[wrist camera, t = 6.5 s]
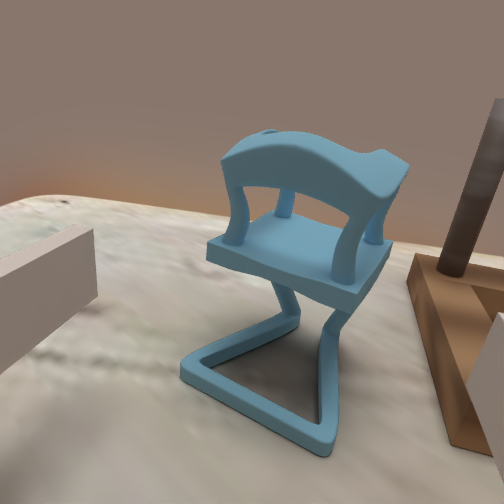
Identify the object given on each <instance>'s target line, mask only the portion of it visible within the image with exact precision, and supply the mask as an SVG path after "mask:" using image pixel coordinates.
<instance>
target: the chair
mask: <svg viewBox="0 0 504 504" xmlns="http://www.w3.org/2000/svg"><path fill="white" fill-rule="evenodd" d="M221 165H222V170H223V173H224V178H225V183H226V188H227V192H228V196H229V200H230V205H231V218H230V222H229V226H228V228H227V230H226V233H224V234H222V235H220V236H218V237H216V238H214V239H212V240H210V241H208V242H207V255H206V260H207V261H209V262H212V263H215V264H217V265H220V266H223V267H225V268H228V269H231V270H234V271H238V272H243V273H247V274H251V275H255V276H259V277H262V278H264V279H267V280H270V281H271V283H272V285H273V288H274V290H275V293H276V295H277V298H278V300H279V303H280V305H281V308H282V312H280V313H279V314H277V315H275V316H273V317H271V318H269V319H267V320H265V321H262V322H260V323H258V324H256V325H253V326H251V327H249V328H246V329H244V330H241V331H239V332H237V333H234V334H232V335H230V336H227V337H225V338H223V339H220V340H218V341H216V342H214V343H211V344H209V345H207V346H205V347H203V348H200V349H198V350H196V351H195V352H193V353H191V354H189V355H188V356H186V357H185V358H184V359H182V361H181V363H180V375H181V378H182V380H183V381H185V382H186V383H188V384H190V385H192V386H193V387H195V388H197V389H199V390H201V391H202V392H204V393H206V394H208V395H210V396H212V397H213V398H215V399H217V400H219V401H221V402H222V403H224V404H226V405H228V406H230V407H231V408H233V409H235V410H237V411H239V412H240V413H242V414H244V415H246V416H248V417H249V418H251V419H253V420H255V421H257V422H258V423H260V424H262V425H264V426H266V427H268V428H269V429H271V430H273V431H275V432H277V433H278V434H280V435H282V436H284V437H286V438H287V439H289V440H291V441H293V442H295V443H296V444H298V445H300V446H302V447H304V448H305V449H307V450H309V451H311V452H313V453H314V454H316V455H319V456H323V457H325V456H328V455H329V454H330V453H331V452H332V449H333V446H334V443H335V439H336V435H337V430H338V422H339V383H338V342H339V335H340V330H341V328H342V327H343V326H344V324H345V323H346V322H347V320H348V319H349V318H350V317H351V315H352V314H353V313H354V311H355V310H356V309H357V307H358V306H359V305H360V303H361V302H362V301H363V299H364V298H365V296H366V295H367V294H368V292H369V291H370V289H371V288H372V286H373V285H374V283H375V281H376V280H377V278H378V276H379V274H380V272H381V270H382V268H383V267H384V264H385V262H386V261H387V259H388V258H389V255H390V251H391V248H392V244H393V241H390V240H387V239H383V224H384V220H385V216H386V214H387V212H388V210H389V208H390V206H391V204H392V202H393V200H394V199H395V197H396V195H397V193H398V190H399V187H400V185H401V183H402V181H403V180H404V178H405V177H406V175H407V173H408V171H409V168H410V166H409V164H407V163H406V162H404V161H402V160H401V159H399V158H398V157H396V156H395V155H393V154H391V153H390V152H388V151H386V150H384V149H379V150H377V151H374V152H371V153H357V152H355V151H351V150H349V149H347V148H344V147H343V146H341V145H338V144H336V143H334V142H332V141H330V140H327V139H325V138H323V137H320V136H317V135H313V134H310V133H307V132H294V131H290V132H278V131H277V130H273V129H272V130H271V129H268V130H265V131H262V132H259V133H256V134H253V135H250V136H248V137H246V138H244V139H243V140H241V141H240V142H238V143H237V144H236V145H235V146H234V147H233V148H232V149H231V150H230V151H229V152H228V153H227V154H226V155H225V156H224V157H223V158H222V159H221ZM245 186H258V187H271V188H279V189H280V194H279V199H278V203H277V206H276V209H274V210H272V211H270V212H268V213H266V214H264V215H263V216H261V217H259V218H258V219H256V220H255V221H253V222H251V223H249V222H250V216H249V215H250V214H249V207H248V203H247V200H246V196H245V194H244V191H243V189H242V187H245ZM295 192H297V193H301V194H304V195H307V196H310V197H313V198H315V199H318V200H320V201H322V202H325V203H327V204H329V205H331V206H333V207H335V208H337V209H338V210H340V211H342V212H344V213H345V214H347V215H348V216H349V217H350V219H349V221H348V222H347V224H346V226H345V227H344V229H341V228H337V227H333V226H330V225H326V224H322V223H319V222H316V221H314V220H311V219H308V218H305V217H302V216H300V215H297V214H294V213H292V210H293V205H294V199H295ZM364 230H365V233H364ZM293 290H294V291H296V292H298V293H300V294H302V295H304V296H306V297H308V298H310V299H312V300H314V301H316V302H318V303H321V304H324V305H326V306H329V307H332V308H334V309H336V310H335V311H334V312H333V313H332V315H331V316H330V317H329V319H328V320H327V321H326V323H325V324H324V326H323V330H322V334H321V340H320V346H319V361H318V394H319V425H318V424H314V423H311V422H309V421H307V420H305V419H304V418H302V417H300V416H298V415H296V414H294V413H292V412H290V411H289V410H287V409H285V408H283V407H281V406H279V405H277V404H275V403H273V402H272V401H270V400H268V399H266V398H264V397H262V396H260V395H258V394H257V393H255V392H253V391H251V390H249V389H247V388H245V387H243V386H241V385H240V384H238V383H236V382H234V381H232V380H230V379H228V378H226V377H224V376H223V375H221V374H219V373H217V372H215V371H213V370H211V369H209V368H211V367H213V366H215V365H218V364H220V363H222V362H224V361H227V360H229V359H231V358H234V357H236V356H238V355H241V354H243V353H245V352H247V351H250V350H252V349H254V348H257V347H259V346H261V345H263V344H266V343H268V342H270V341H272V340H274V339H276V338H278V337H281V336H283V335H284V334H286V333H288V332H290V331H292V330H293V329H295V328H296V327H297V326H298V325H299V322H300V315H301V309H300V307H299V304H298V301H297V299H296V296H295V293H294V291H293Z"/></svg>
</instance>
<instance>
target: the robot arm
mask: <svg viewBox="0 0 504 504" xmlns="http://www.w3.org/2000/svg"><path fill="white" fill-rule="evenodd" d="M97 296H98V292H97V278H96V263H95V249H94V234H93V228H88V227H83V226H78V225H72V226H70V227H68V228H65V229H63V230H61V231H59V232H57V233H55V234H53V235H51V236H49V237H47V238H44V239H42V240H40V241H38V242H36V243H34V244H32V245H30V246H28V247H26V248H24V249H21V250H19V251H17V252H15V253H13V254H11V255H9V256H7V257H5V258H3V259H1V260H0V374H2V373H3V372H4V371H5V370H7V369H8V368H9V367H10V366H11V365H13V364H14V363H15V362H16V361H18V360H19V359H20V358H21V357H23V356H24V355H25V354H26V353H28V352H29V351H30V350H31V349H33V348H34V347H35V346H36V345H38V344H39V343H40V342H41V341H43V340H44V339H45V338H46V337H48V336H49V335H50V334H51V333H53V332H54V331H55V330H56V329H58V328H59V327H60V326H61V325H62V324H64V323H65V322H66V321H67V320H69V319H70V318H71V317H72V316H74V315H75V314H76V313H77V312H79V311H80V310H81V309H82V308H84V307H85V306H86V305H87V304H89V303H90V302H91V301H92V300H94V299H95V298H96V297H97ZM465 385H466V387H467V390H468V393H469V395H470V398H471V400H472V403H473V405H474V408H475V411H476V413H477V416H478V418H479V421H480V424H481V426H482V429H483V431H484V434H485V436H486V439H487V442H488V444H489V447H490V449H491V452H492V455H493V457H494V460H495V462H496V465H497V467H498V470H499V473H500V475H501V478H502V480H503V483H504V313H500V312H498V313H497V315H496V318H495V320H494V322H493V324H492V326H491V329H490V331H489V333H488V335H487V338H486V340H485V342H484V344H483V346H482V349H481V351H480V353H479V355H478V358H477V360H476V362H475V364H474V366H473V369H472V371H471V373H470V375H469V378H468V380H467V382H466V384H465Z"/></svg>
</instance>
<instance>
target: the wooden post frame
mask: <svg viewBox="0 0 504 504" xmlns="http://www.w3.org/2000/svg"><path fill="white" fill-rule="evenodd" d="M503 171H504V99H498V98H496V99H495V101H494V104H493V106H492V109H491V112H490V115H489V118H488V121H487V124H486V126H485V129H484V133H483V135H482V138H481V141H480V144H479V146H478V149H477V152H476V155H475V158H474V161H473V164H472V167H471V169H470V172H469V175H468V178H467V181H466V184H465V186H464V189H463V192H462V195H461V199H460V201H459V204H458V207H457V209H456V212H455V215H454V218H453V221H452V224H451V226H450V229H449V232H448V235H447V238H446V241H445V244H444V247H443V249H442V252H441V255H440V258H439V257H434V256H429V255H423V254H418V253H415V256H414V259H413V262H412V265H411V268H410V271H409V274H408V278H407V284H408V288H409V292H410V295H411V299H412V303H413V307H414V310H415V314H416V318H417V321H418V325H419V329H420V332H421V336H422V340H423V343H424V347H425V351H426V355H427V358H428V362H429V366H430V369H431V373H432V377H433V380H434V384H435V388H436V391H437V395H438V399H439V402H440V406H441V410H442V414H443V417H444V421H445V425H446V428H447V432H448V436H449V439H450V443H451V445H454V446H457V447H461V448H465V449H468V450H472V451H476V452H479V453H483V454H487V455H490V456H493V455H492V452H491V449H490V447H489V444H488V442H487V439H486V436H485V434H484V431H483V429H482V426H481V424H480V421H479V418H478V416H477V413H476V411H475V408H474V405H473V403H472V400H471V398H470V395H469V393H468V390H467V387H466V385H465V384H466V382H467V380H468V378H469V375H470V373H471V371H472V369H473V366H474V364H475V362H476V360H477V358H478V355H479V353H480V351H481V349H482V346H483V344H484V342H485V340H486V338H487V335H488V333H489V331H490V329H491V326H492V324H493V322H494V320H495V318H496V315H497V313H498V312H500V313H504V270H502V269H496V268H491V267H486V266H481V265H476V264H470V263H468V262H469V259H470V257H471V254H472V251H473V249H474V246H475V244H476V241H477V238H478V236H479V233H480V231H481V228H482V226H483V223H484V220H485V218H486V215H487V213H488V210H489V207H490V205H491V202H492V200H493V197H494V194H495V192H496V189H497V187H498V184H499V182H500V179H501V177H502V174H503Z"/></svg>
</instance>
